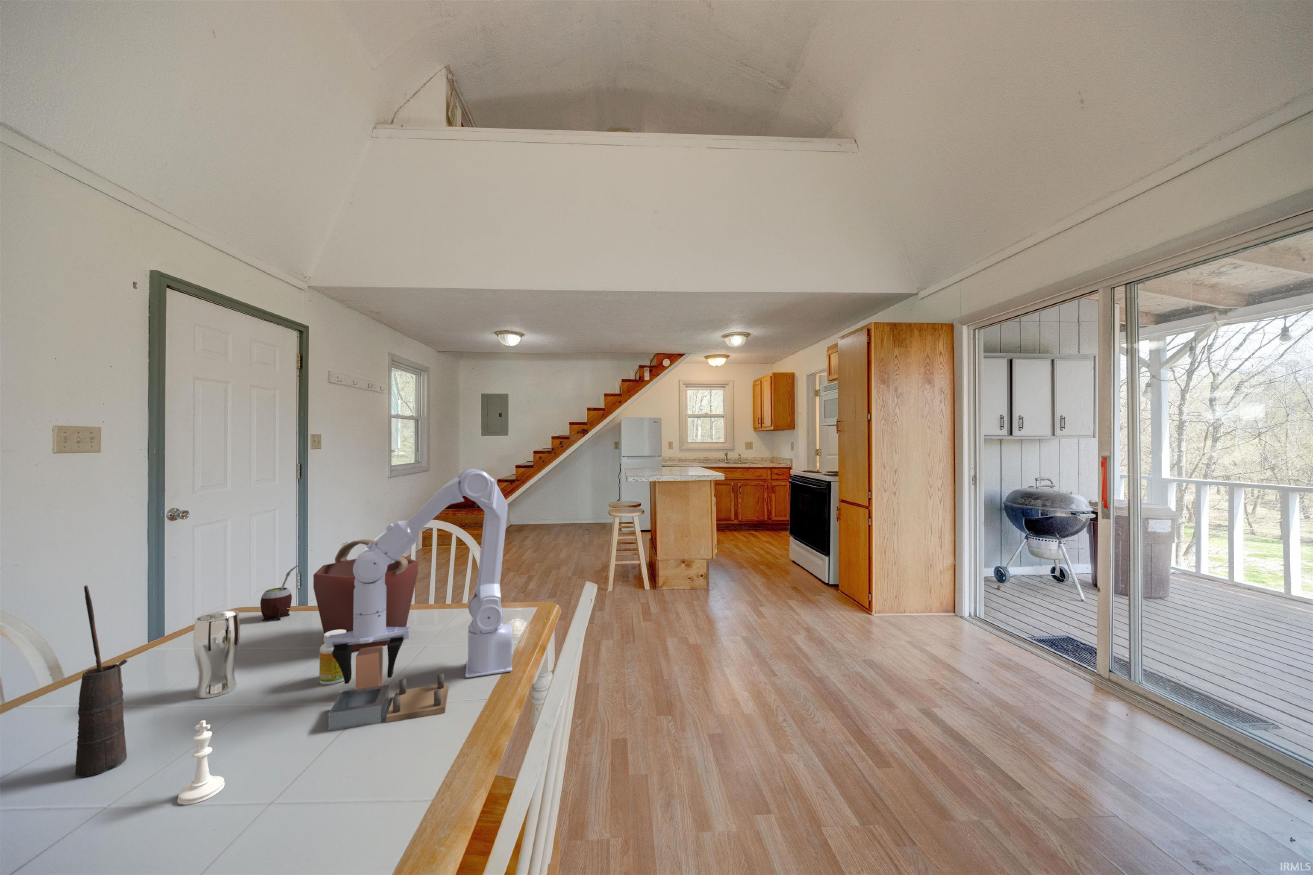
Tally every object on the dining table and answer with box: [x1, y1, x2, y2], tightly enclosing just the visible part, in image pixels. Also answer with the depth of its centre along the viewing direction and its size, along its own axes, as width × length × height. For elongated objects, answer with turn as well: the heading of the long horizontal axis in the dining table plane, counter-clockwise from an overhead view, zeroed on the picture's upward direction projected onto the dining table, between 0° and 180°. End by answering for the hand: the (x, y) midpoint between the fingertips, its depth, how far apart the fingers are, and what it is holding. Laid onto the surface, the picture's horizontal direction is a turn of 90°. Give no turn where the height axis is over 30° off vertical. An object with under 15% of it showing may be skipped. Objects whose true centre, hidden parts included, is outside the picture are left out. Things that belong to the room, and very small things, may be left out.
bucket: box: [312, 539, 419, 654], centre depth 125 cm, size 24×22×25 cm
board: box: [385, 673, 450, 723], centre depth 93 cm, size 10×10×4 cm
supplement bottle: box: [318, 629, 346, 685], centre depth 104 cm, size 5×5×10 cm
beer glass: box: [192, 609, 241, 699], centre depth 99 cm, size 7×7×15 cm
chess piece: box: [177, 719, 226, 806], centre depth 70 cm, size 5×5×10 cm
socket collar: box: [328, 684, 391, 732], centre depth 90 cm, size 8×8×3 cm
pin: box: [354, 646, 384, 690], centre depth 99 cm, size 4×4×8 cm
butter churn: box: [74, 584, 128, 778], centre depth 77 cm, size 9×10×28 cm
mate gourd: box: [259, 564, 300, 622], centre depth 140 cm, size 8×8×15 cm
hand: (369, 678), depth 99 cm, fingers open, 7 cm apart
